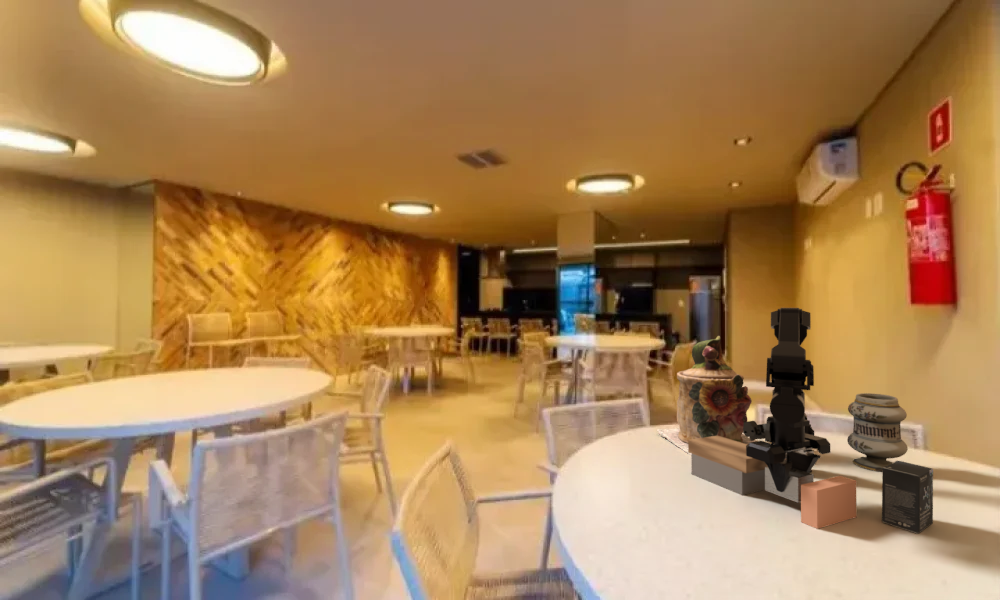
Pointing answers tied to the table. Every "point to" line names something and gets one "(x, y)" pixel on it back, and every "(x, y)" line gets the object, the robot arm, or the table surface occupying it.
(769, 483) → the support block
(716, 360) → the cookie jar
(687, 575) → the table surface
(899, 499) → the box
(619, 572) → the table surface
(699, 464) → the plinth
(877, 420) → the apothecary jar
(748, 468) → the slab
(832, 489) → the end stop
